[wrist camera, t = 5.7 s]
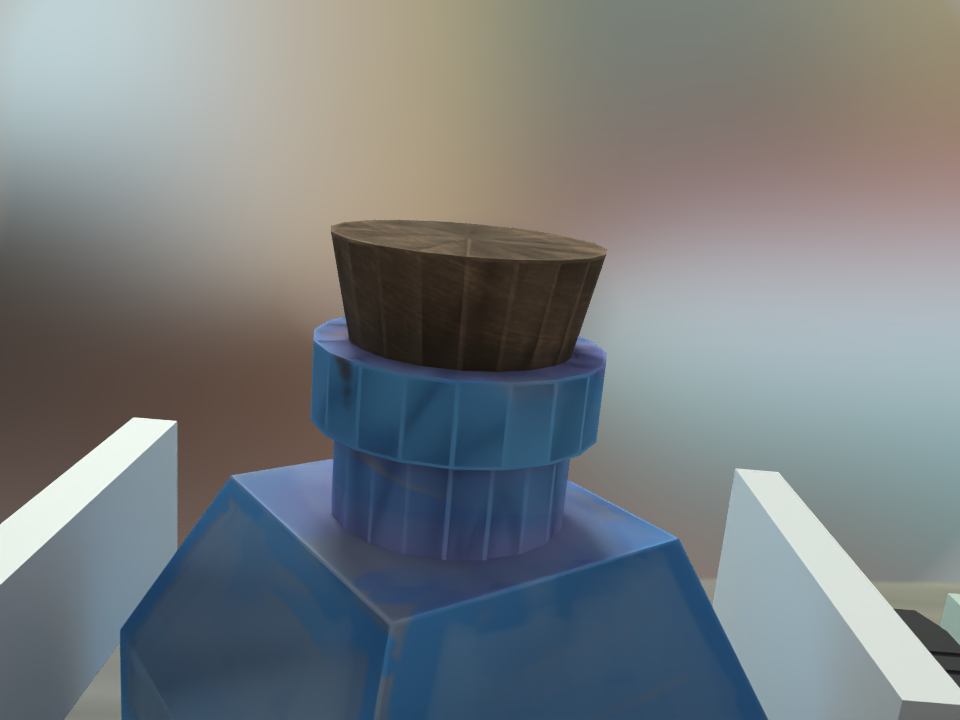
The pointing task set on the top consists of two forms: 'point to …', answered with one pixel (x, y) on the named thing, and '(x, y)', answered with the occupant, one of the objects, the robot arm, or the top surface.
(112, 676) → the top surface
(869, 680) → the robot arm
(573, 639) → the perfume bottle
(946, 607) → the mint green square block
